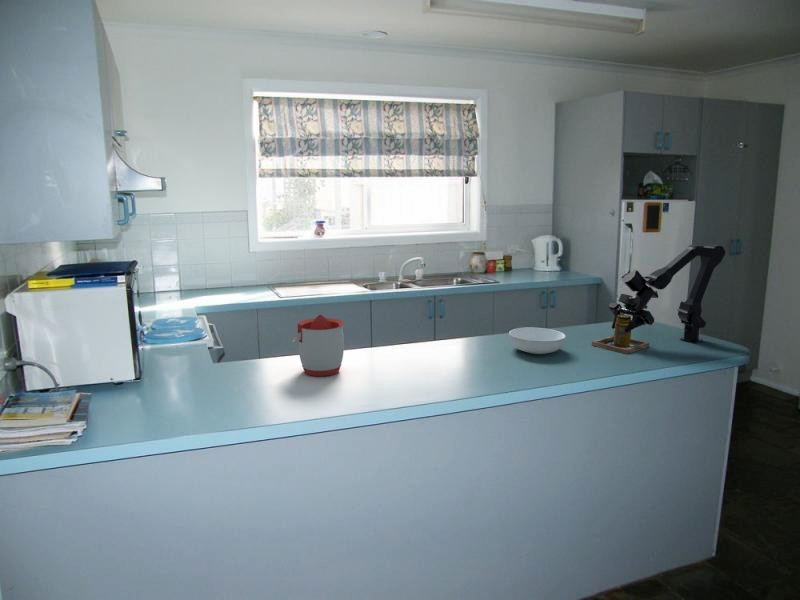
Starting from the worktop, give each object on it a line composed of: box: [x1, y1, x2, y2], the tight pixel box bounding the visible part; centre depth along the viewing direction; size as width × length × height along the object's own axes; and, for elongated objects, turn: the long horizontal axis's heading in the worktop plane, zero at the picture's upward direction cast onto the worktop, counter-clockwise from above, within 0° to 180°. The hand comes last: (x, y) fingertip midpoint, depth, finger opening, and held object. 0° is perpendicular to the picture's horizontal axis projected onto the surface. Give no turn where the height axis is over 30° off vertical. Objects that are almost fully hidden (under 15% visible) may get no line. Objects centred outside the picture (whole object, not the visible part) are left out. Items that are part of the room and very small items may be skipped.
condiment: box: [608, 314, 635, 349], centre depth 237 cm, size 7×8×12 cm
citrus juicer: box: [292, 313, 345, 377], centre depth 205 cm, size 16×17×20 cm
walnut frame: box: [591, 335, 650, 355], centre depth 238 cm, size 16×15×2 cm
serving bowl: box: [508, 326, 567, 355], centre depth 231 cm, size 21×21×7 cm
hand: (618, 329), depth 237 cm, fingers closed on condiment, 6 cm apart
